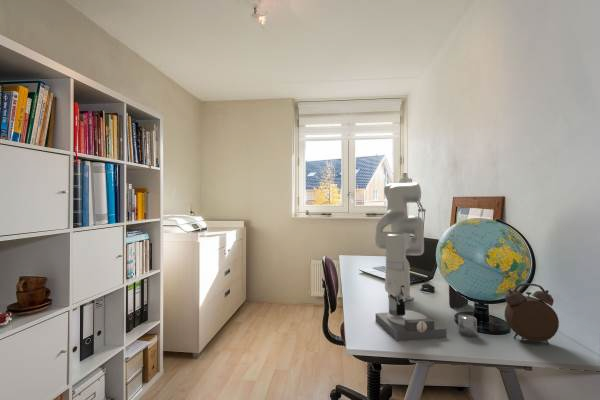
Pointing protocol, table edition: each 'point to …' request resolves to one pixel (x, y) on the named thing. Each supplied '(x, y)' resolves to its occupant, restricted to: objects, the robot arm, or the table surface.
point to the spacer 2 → (467, 325)
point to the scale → (410, 326)
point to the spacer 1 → (393, 306)
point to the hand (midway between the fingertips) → (396, 311)
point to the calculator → (456, 299)
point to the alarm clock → (531, 315)
